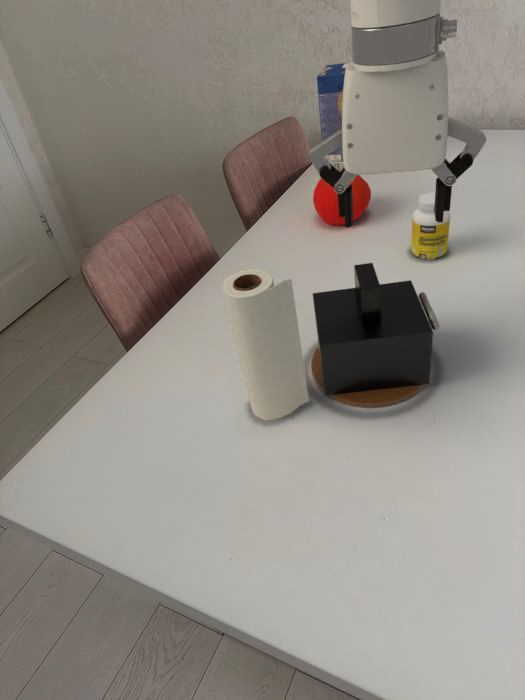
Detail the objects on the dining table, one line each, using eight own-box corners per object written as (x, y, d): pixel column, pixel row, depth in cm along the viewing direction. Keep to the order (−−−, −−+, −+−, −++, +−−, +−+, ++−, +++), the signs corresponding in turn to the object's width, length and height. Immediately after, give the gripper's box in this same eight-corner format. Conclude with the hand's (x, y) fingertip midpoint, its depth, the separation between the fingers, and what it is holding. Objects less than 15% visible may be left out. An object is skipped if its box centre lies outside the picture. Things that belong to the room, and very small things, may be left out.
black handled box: (415, 323, 78) (419, 235, 69) (445, 400, 65) (455, 305, 56) (307, 336, 80) (296, 252, 70) (316, 414, 67) (304, 324, 57)
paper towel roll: (243, 414, 71) (210, 287, 57) (270, 388, 74) (244, 263, 60) (283, 435, 67) (257, 304, 53) (309, 406, 70) (291, 276, 56)
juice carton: (352, 175, 130) (348, 73, 115) (324, 176, 133) (316, 77, 118) (359, 158, 139) (355, 61, 124) (332, 159, 141) (326, 65, 126)
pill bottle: (408, 263, 94) (410, 205, 87) (413, 246, 98) (415, 189, 91) (444, 265, 91) (449, 205, 84) (448, 247, 96) (453, 189, 88)
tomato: (326, 206, 119) (322, 162, 112) (377, 208, 113) (376, 162, 107) (306, 233, 110) (300, 186, 103) (360, 236, 105) (358, 187, 98)
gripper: (492, 21, 45) (472, 200, 56) (305, 49, 50) (319, 209, 61) (506, 36, 40) (480, 231, 51) (293, 66, 44) (312, 239, 55)
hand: (392, 219), depth 56 cm, fingers open, 9 cm apart
